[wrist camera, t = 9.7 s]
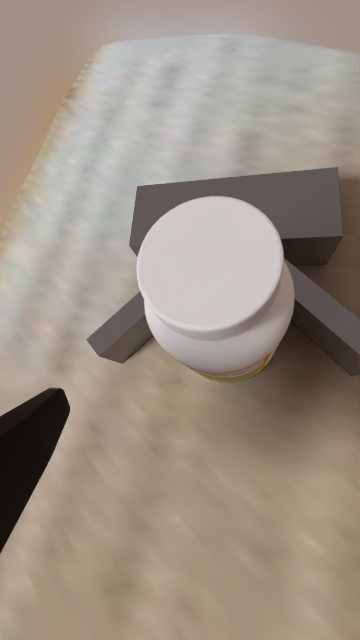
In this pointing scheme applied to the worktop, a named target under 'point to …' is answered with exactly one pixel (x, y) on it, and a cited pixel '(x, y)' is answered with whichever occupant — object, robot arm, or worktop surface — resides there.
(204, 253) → the supplement bottle
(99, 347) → the v block
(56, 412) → the robot arm
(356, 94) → the worktop surface
